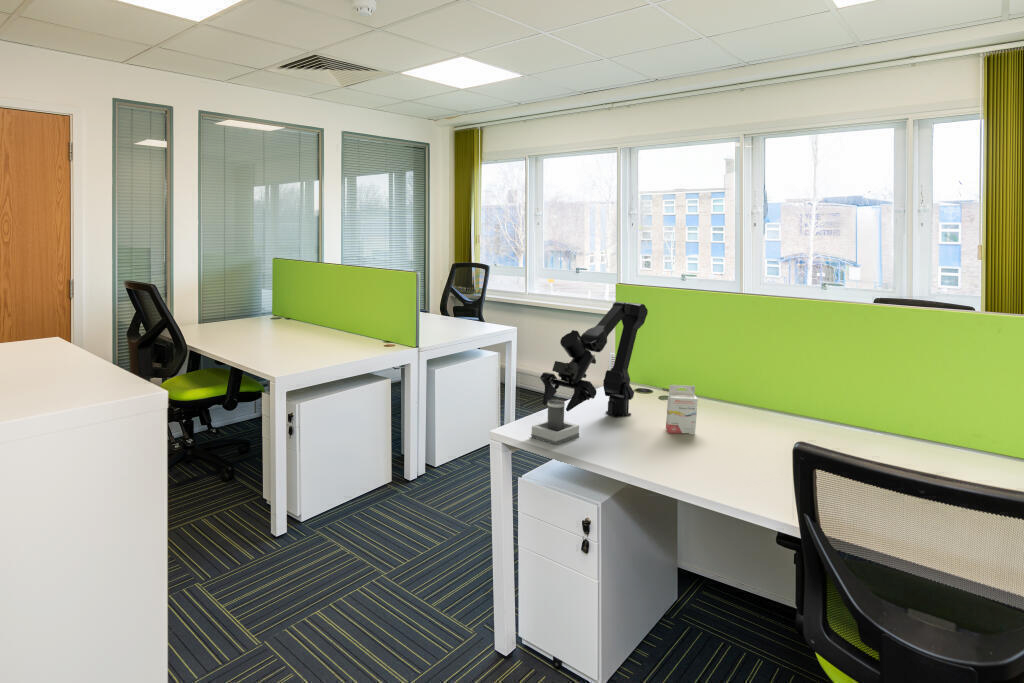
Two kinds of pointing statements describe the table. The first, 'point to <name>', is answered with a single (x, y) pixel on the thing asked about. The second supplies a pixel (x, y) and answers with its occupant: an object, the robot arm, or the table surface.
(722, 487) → the table surface
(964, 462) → the table surface
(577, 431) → the white open box
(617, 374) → the robot arm
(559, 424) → the gray cylindrical canister
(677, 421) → the ink cartridge box
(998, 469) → the table surface
